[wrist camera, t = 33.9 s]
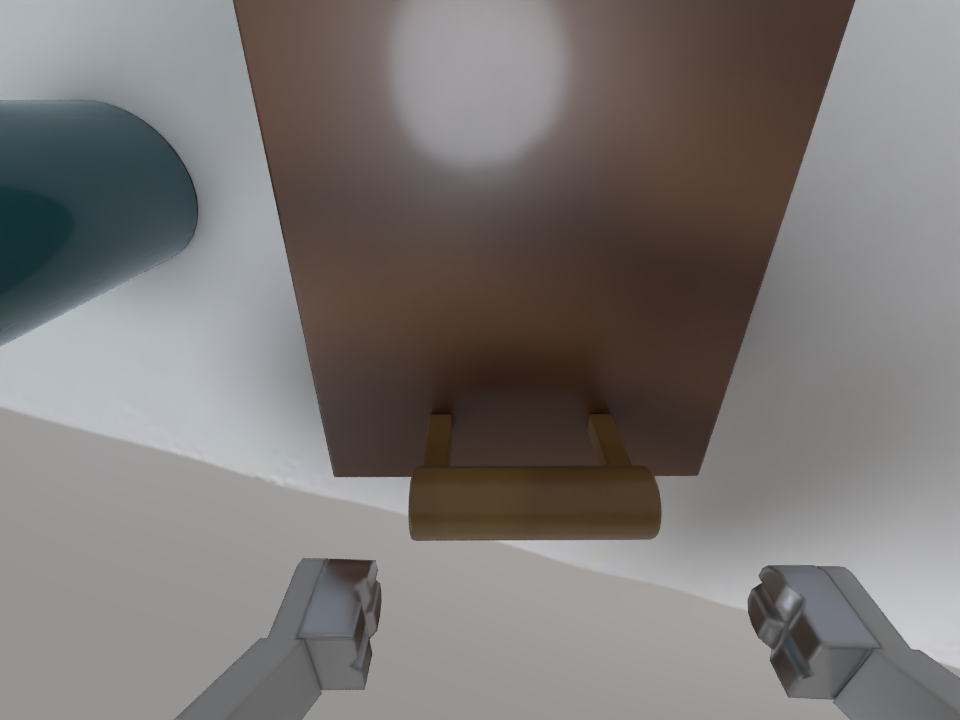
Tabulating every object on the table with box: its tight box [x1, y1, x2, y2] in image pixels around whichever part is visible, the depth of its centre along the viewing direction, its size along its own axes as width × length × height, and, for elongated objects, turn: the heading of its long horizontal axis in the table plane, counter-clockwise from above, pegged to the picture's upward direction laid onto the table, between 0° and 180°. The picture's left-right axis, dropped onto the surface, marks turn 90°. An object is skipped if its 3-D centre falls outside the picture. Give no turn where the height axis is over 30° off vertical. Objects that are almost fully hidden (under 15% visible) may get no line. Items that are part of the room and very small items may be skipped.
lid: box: [233, 0, 855, 541], centre depth 10 cm, size 16×13×5 cm
